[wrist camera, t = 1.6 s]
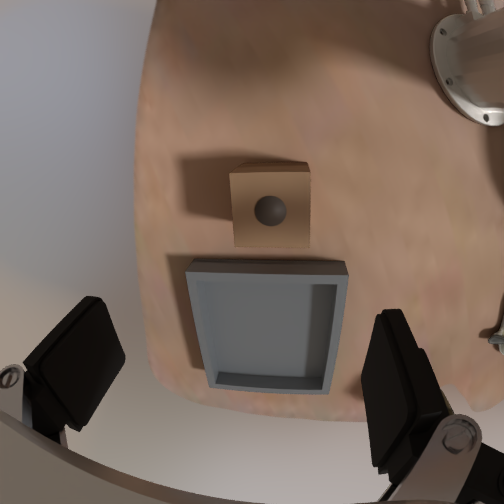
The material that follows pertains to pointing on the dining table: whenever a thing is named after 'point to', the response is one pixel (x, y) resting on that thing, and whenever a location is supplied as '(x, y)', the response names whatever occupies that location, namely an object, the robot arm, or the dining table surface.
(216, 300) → the tray
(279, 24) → the dining table surface
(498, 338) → the salad plate
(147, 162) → the dining table surface
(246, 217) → the walnut block
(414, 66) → the dining table surface
